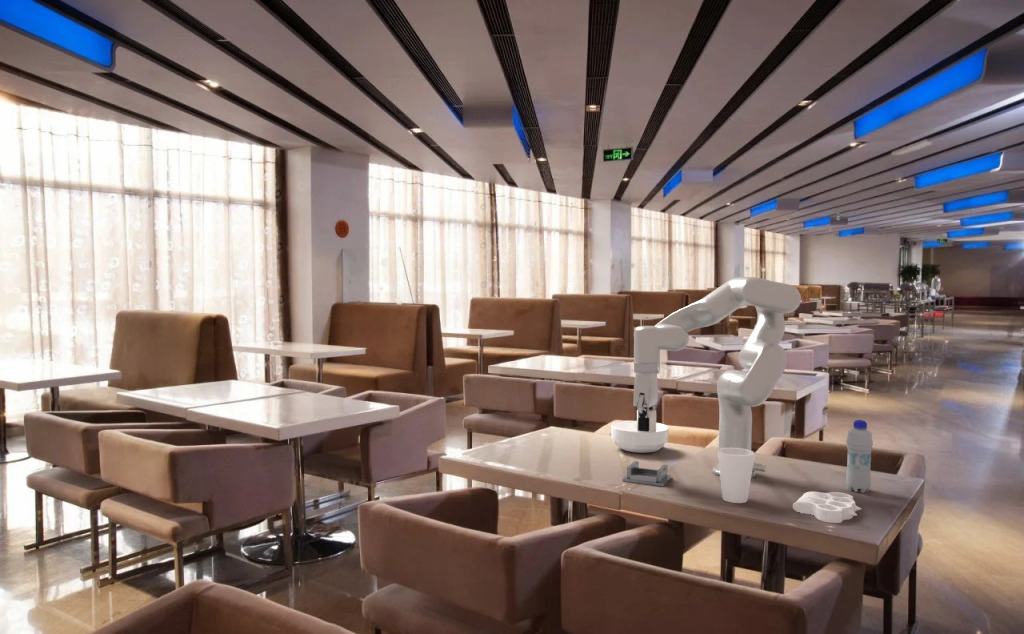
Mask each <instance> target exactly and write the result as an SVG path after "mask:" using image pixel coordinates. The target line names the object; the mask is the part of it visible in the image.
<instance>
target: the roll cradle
mask: <svg viewBox="0 0 1024 634" xmlns="http://www.w3.org/2000/svg"><path fill="white" fill-rule="evenodd" d="M639 462H640V461H638V460H637V461H636V460H634V461H633V462H632V463H630V465H628V466H626V467H627V468H626V470H627V471H626V475H625V476H623V477H622V482H625V483H626V482H627V483H633V484H641V485H650V486H657V487H665V486H666V484H667V483H669V482H670V480H671V479H672V474H668V468H669V467H668V464H662V465H661V466H660V468H659V469H655V468H647V467H640V466H639Z"/></svg>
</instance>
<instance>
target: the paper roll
mask: <svg viewBox="0 0 1024 634" xmlns="http://www.w3.org/2000/svg"><path fill="white" fill-rule="evenodd" d="M643 410H645V412H646V409H643ZM648 418H649V431H648V432H646V431H639V430H638V409H637V410H636V421H637V431H638V432H642V433H654V432H656V423H657V410H656V409H655V410H652V409H649V413H648Z"/></svg>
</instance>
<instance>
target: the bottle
mask: <svg viewBox="0 0 1024 634" xmlns="http://www.w3.org/2000/svg"><path fill="white" fill-rule="evenodd" d="M845 443H846V448H847V459H846V460H847V461H846V463H847V464H846V465H847V466H846V476H845V484H846V487H847V489H848V490H849V491H851V492H852V491H854V492H855V493H857V492H858V491H859V489H860V493H867V492H869V491H870V489H871V486H872V476H871V463H872V450H873V445H874V442H873V434H872V432H871V431H869V430H868V424H867V421H866V420H864V419H863V420H862V419H856V420H854V421H853V428H852V429H849V430H848V431H847V437H846V442H845Z"/></svg>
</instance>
